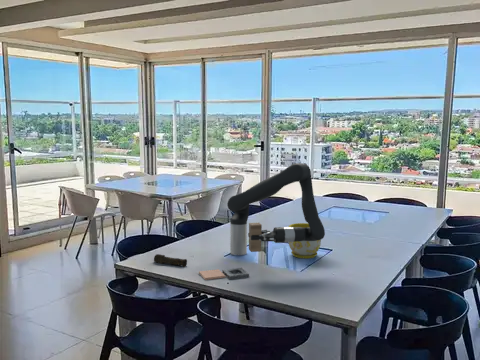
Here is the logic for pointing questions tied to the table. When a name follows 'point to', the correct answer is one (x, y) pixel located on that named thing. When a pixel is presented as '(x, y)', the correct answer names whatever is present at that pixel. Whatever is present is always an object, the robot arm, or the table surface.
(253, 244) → the walnut block
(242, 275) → the hole plate
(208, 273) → the tile
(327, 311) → the table surface
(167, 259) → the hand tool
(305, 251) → the flowerpot
